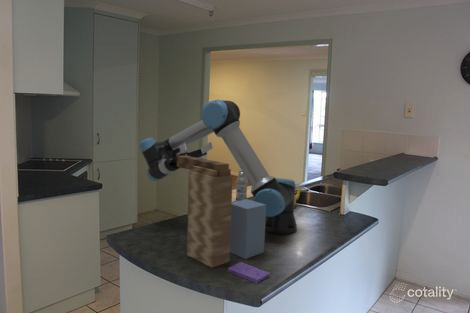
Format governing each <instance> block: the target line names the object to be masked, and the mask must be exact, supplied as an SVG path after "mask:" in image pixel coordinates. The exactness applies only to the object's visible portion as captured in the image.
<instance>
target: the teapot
mask: <svg viewBox="0 0 470 313" xmlns="http://www.w3.org/2000/svg"><path fill="white" fill-rule="evenodd" d="M303 189H304V186H302V187H301V186H300V187H298V189H297V191H296V192H297V193H295V198H294V206H295V205H296V203H297V201H298V200H299V198H300V195H301V191H302V190H303Z"/></svg>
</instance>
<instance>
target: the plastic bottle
mask: <svg viewBox="0 0 470 313" xmlns="http://www.w3.org/2000/svg"><path fill="white" fill-rule="evenodd" d="M248 185H249V181H248V180H247V178H246V176H245V175H244V173H243V171H242V170H239V171H238V176H237V178H236V180H235V189H236V192H235V201H234V202H236V201H241V200H245V199H248V197H247V195H248V194H247V192H248Z"/></svg>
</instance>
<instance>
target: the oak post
mask: <svg viewBox="0 0 470 313" xmlns="http://www.w3.org/2000/svg"><path fill="white" fill-rule="evenodd" d="M231 170H232V168H229V174H228V176H223V177H218V176H217V174H218V171H216V170H212V169H207V168H203V167H198V166H194V165H192V166H191V170H189V171H188V186H187V187H188V188H187V189H188V192H187V193H188V194H187V195H188V196H187V236H186V237H187V246H186V247H187V248H186V255H187V256H188V257H190V258H192V259H194V260H195V261H198V262H200V263H203V264H204V265H206V266H208V267H210V268H212V269H213V268H215V267H218V266H221V265H225V264H227V263H229V262H230V260H231V259H230V255H231V254H230V234H231V207H232V202H233V201H232V200H233V176H234V175H233V174H232V172H231Z"/></svg>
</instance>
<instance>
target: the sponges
mask: <svg viewBox="0 0 470 313" xmlns="http://www.w3.org/2000/svg"><path fill="white" fill-rule="evenodd" d="M227 273H230V274H233V275H236V276H237V277H240V278H242V279H245V280H247V279H248V280H247V281H249V280H250V281H249V282H252V281H253V282H252V283H254V282H255V283H254V284H256V283H257V284H258V282H259V283H261V282H262V281H264V280H266V279H268V278H269V277H270V272H269V271H266V270H263V269H259V268H257V267H255V266H252V265H249V264H246V263H244V262H242V261H240V262H238V263H235V264H234V265H232V266H229V267H228V268H227ZM267 277H268V278H267ZM265 278H266V279H265ZM263 279H264V280H263ZM261 280H262V281H261ZM260 281H261V282H260Z"/></svg>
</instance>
